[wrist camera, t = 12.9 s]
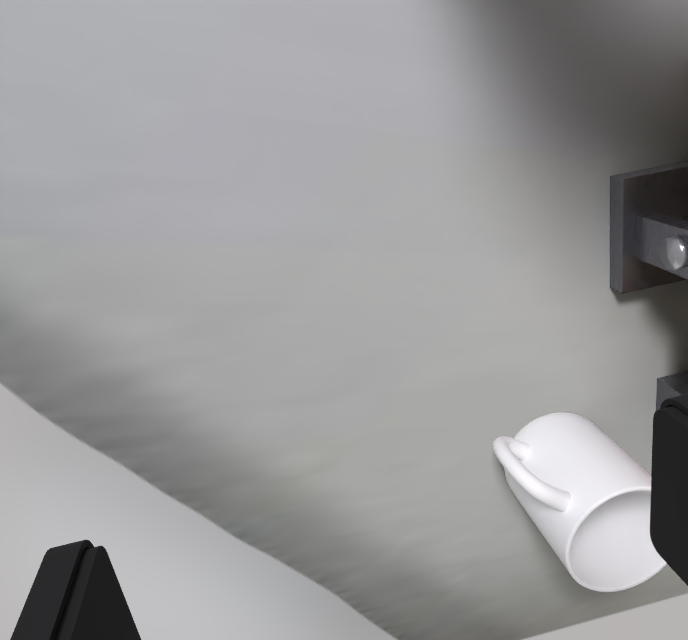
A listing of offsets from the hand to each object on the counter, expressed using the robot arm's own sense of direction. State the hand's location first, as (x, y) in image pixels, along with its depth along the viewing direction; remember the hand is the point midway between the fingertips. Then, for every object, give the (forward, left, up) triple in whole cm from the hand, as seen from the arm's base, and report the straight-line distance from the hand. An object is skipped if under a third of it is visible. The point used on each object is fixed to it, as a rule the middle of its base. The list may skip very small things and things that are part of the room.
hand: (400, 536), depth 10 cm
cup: (+22, +16, -31) cm, 41 cm away
